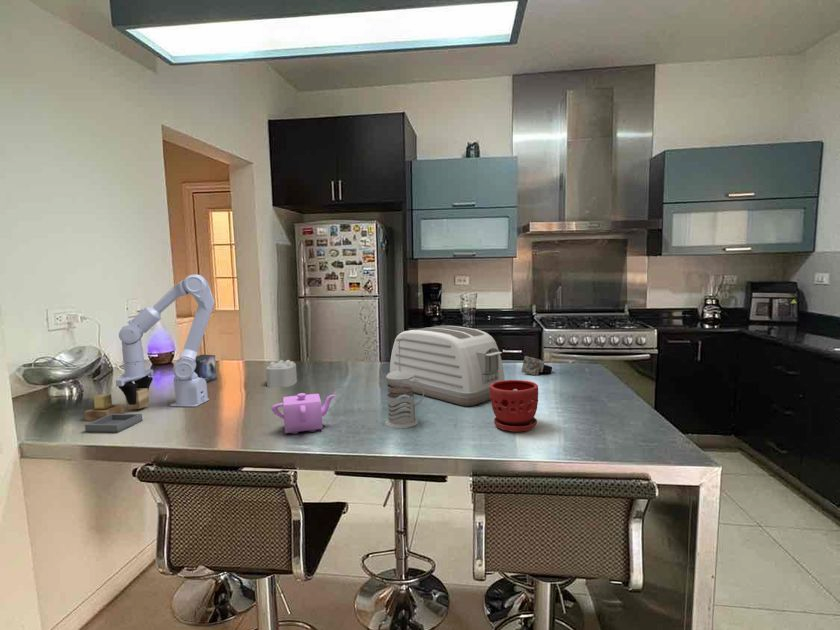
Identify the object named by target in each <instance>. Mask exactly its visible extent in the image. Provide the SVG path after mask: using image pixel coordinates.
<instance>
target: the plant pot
mask: <svg viewBox="0 0 840 630" xmlns="http://www.w3.org/2000/svg"><path fill="white" fill-rule="evenodd" d="M504 380H505V381H498V382H495V383H492V384H491V385H490V399H491V400H490V405H491V409H492V412H493V414H494V416H495V418H494V419H493V422H494V425H495V426H496V427H498V429H501V430H503V431H507V432H515V433H516V432H517V433H518V432H520V433H521V432H527V431H530V430H532V429H533V428H535V427H536V425H537V423H538V420H537V418H535V415H536V414H537V410H538V406H539V405H538V404H539V386H538V385H539V384H537V383H536V382H533V381H530V380H521V379H520V380H519V379H509V380H508V379H504Z"/></svg>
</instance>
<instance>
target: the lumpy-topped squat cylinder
mask: <svg viewBox="0 0 840 630" xmlns="http://www.w3.org/2000/svg"><path fill="white" fill-rule="evenodd" d="M265 372H266V387H268V388H288V387H292V386H294V385H296V384H297V382H298V379H297V378H298V377H297V376H298V375H297V364H296V363H295V361H291V360H290V359H287V360H283V359H281V360H278V361H277V362H275V361H270V363H269V364H268V366H267V367H266V368H265Z"/></svg>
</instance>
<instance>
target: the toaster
mask: <svg viewBox="0 0 840 630" xmlns="http://www.w3.org/2000/svg"><path fill="white" fill-rule="evenodd" d="M395 337H396V338H397V337H401V338H402V341H400V365H399V341H396V338H395V339H394V342H393V346H392V350H391V356H390V362H389V372H387V375H388V374H389V373H391V372H393V371H396V370H406V371H408V372H411V373H412V374H414V377H413V378H412V379H410V380H404V381H401V386H402V387H411V388H412V389H413V391H412V393H414V394H419V395H422V396H423V390H422V388H421V386H420V385H421V384H422V386H423V388H424V397H425V396H426V397H430V398H433V399H435V400H436V399H437V400H441V401H445V402H449V403H452V404H455V405H459V406H463V407H472V406H473V407H474V406H476V405H478V404H483V403H484V402H487V401H491V399H490V385H491V384H492V383H495V382H498V381H505V380H506V379H505V372H504V365H503V362H502V361H503V360H502V356H501V354H502V353H503V352H502V351H500V350H499V348H498V345H497V342H496V340H495V339H494V338H493V336H492V335H490V334H489V333H488V332H485V331H483V330H480V329H477V328H471V327H465V326H457V325H435V326H430V327H422V328H417V329H410V330H404V331H402V332H400V333H399V334H397V335H396V336H395ZM387 375H386V376H387ZM414 380H417V381H416V382H418V381H419V382H420V383H421V384H420V383H419V382H418V383H419V384H420V385H419V384H418V383H416V382H414V385H413V381H414ZM386 381H387V382H386V383H387V384H388V385H389V386H390V387H391V388H392V387H396V386H400V381H393V380H389V379H387V378H386Z"/></svg>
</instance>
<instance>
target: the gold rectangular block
mask: <svg viewBox="0 0 840 630" xmlns="http://www.w3.org/2000/svg"><path fill="white" fill-rule="evenodd" d="M112 400H113V399H112V393H101V394H100V393H99V394H98V395H95V396H93V403H94V407H95V410H107V409H110V408H112V404H113V401H112Z"/></svg>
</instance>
